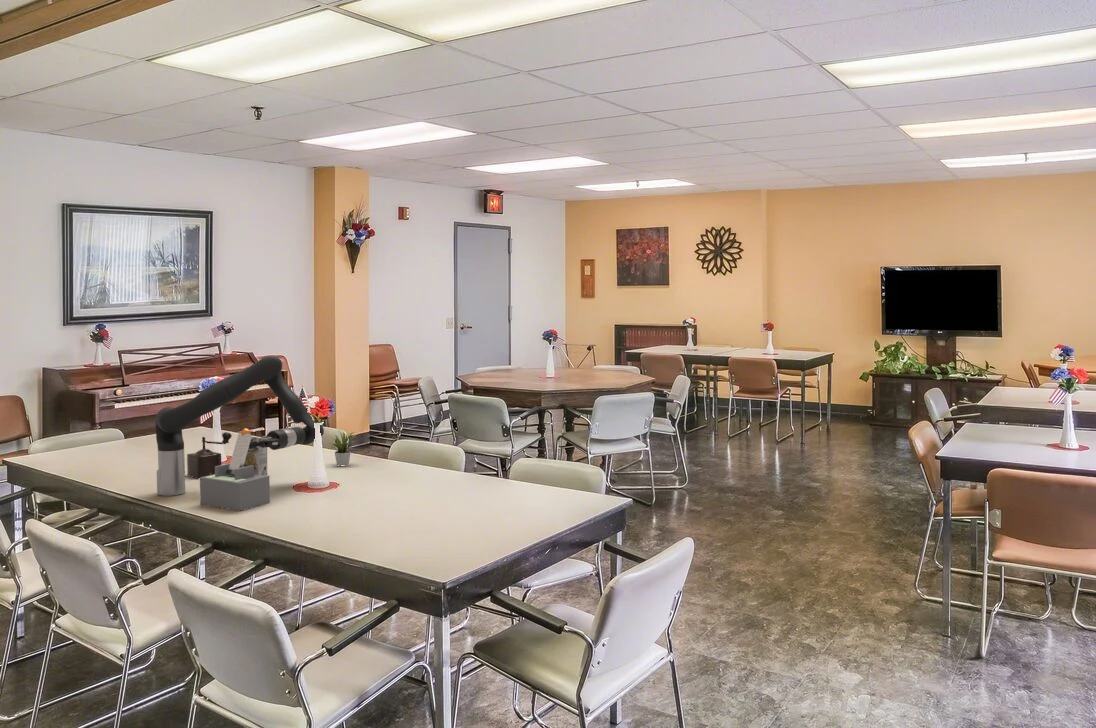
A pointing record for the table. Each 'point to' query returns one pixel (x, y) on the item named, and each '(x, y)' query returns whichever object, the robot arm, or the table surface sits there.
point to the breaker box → (234, 488)
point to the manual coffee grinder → (205, 459)
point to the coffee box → (257, 459)
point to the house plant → (342, 449)
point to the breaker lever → (239, 451)
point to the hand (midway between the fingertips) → (247, 445)
